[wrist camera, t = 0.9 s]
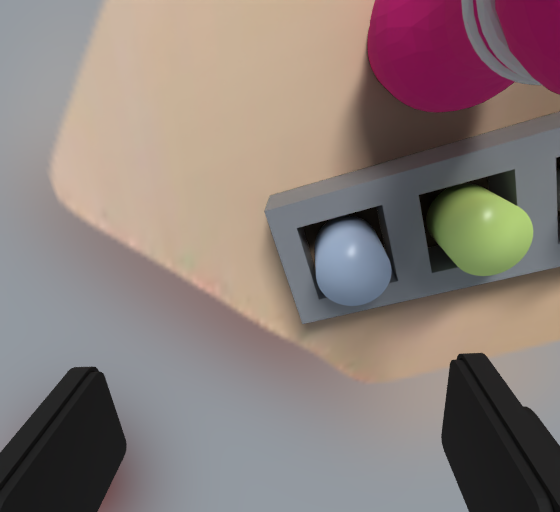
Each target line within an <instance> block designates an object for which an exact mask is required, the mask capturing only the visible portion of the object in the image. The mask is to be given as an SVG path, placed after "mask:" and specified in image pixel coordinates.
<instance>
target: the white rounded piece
mask: <svg viewBox="0 0 560 512" xmlns="http://www.w3.org/2000/svg"><path fill="white" fill-rule="evenodd" d="M556 180H557V210H558V211H560V169H559V170H558V171H557V173H556Z"/></svg>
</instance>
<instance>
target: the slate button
mask: <svg viewBox="0 0 560 512" xmlns="http://www.w3.org/2000/svg"><path fill="white" fill-rule="evenodd" d="M315 265H316V279H317V283H318V286H319V288H320V290H321V291H322V293H323V294H324V295H325V296H326V297H327V298H329V299H330V300H332V301H333V302H336V303H338V304H341V305H346V306H358V305H363V304H366V303H369V302H371V301H373V300H375V299H376V298H377V297H379V296H380V295H381V294H382V293H383V292H384V291H385V289H386V288H387V286H388V284H389V282H390V278H391V264H390V260H389V258H388V256H387V254H386V252H385V250H384V248H383V246H382V244H381V242H380V240H379V238H378V236H377V234H376V232H375V230H374V228H373V227H372V226H371V225H370V224H369V223H368V222H367V221H365V220H364V219H362V218H359V217H356V216H340V217H336V218H334V219H332V220H330V221H328V222H327V223H326V224H324V225H323V226H322V228H321V229H320V230H319V232H318V234H317V236H316V239H315Z"/></svg>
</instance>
